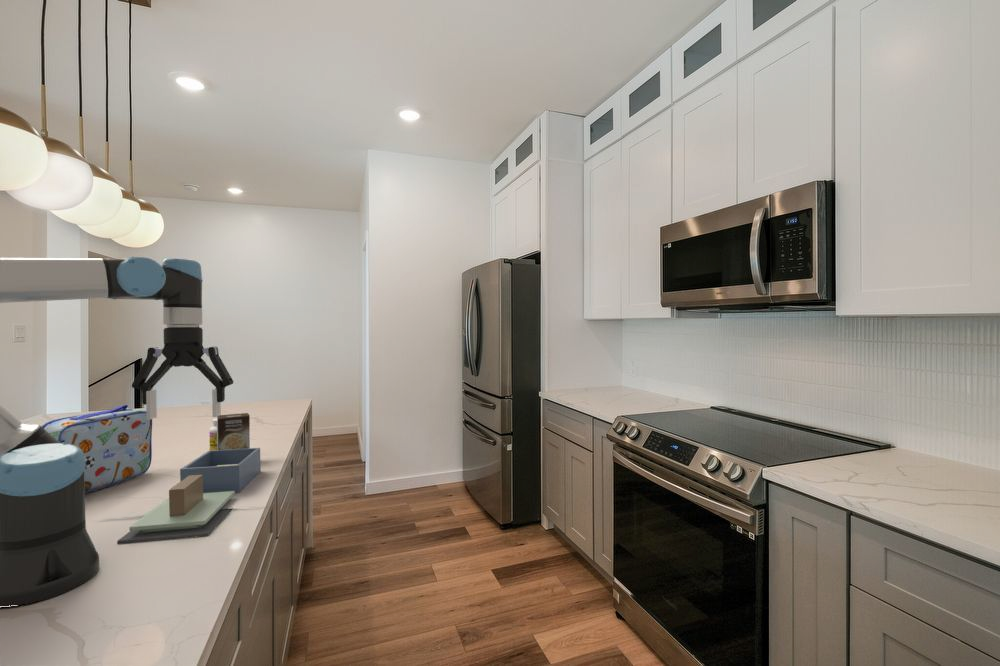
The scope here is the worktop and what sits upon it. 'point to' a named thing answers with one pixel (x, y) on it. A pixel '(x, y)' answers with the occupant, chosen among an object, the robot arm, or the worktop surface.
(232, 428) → the coffee box
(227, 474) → the storage box
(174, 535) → the mat
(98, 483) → the lunch box
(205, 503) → the lid
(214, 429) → the supplement bottle
